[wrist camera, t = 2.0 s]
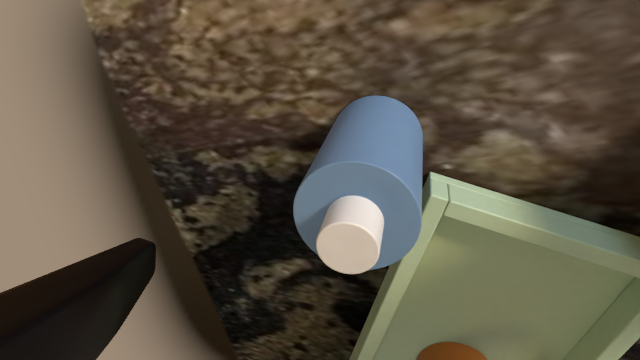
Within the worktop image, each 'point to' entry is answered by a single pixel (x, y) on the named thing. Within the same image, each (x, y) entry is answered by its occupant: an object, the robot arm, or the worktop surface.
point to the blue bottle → (364, 188)
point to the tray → (506, 282)
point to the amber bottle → (450, 352)
